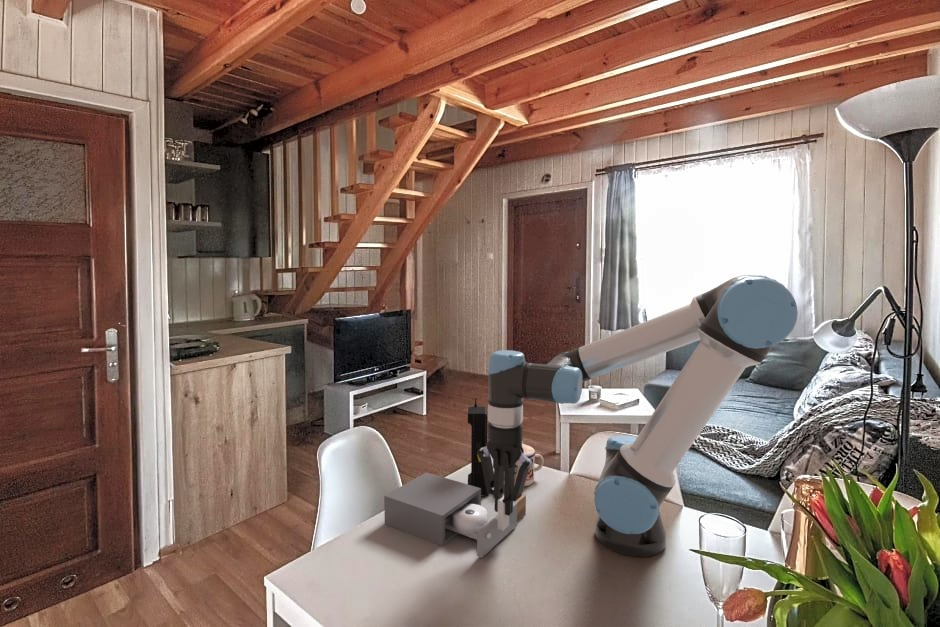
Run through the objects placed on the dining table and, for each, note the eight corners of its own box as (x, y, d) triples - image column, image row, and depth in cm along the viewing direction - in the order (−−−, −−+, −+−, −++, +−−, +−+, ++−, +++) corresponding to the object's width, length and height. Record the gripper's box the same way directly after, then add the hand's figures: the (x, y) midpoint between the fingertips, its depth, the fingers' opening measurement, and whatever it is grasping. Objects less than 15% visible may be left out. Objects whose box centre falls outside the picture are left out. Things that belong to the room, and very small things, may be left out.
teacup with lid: (508, 489, 138) (509, 448, 137) (498, 475, 146) (499, 437, 145) (549, 484, 141) (550, 444, 140) (536, 471, 150) (537, 433, 148)
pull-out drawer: (518, 526, 117) (519, 503, 117) (483, 558, 104) (484, 533, 104) (455, 505, 127) (455, 485, 127) (416, 532, 114) (416, 510, 114)
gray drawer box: (480, 515, 123) (481, 488, 123) (442, 546, 110) (442, 515, 109) (426, 497, 133) (426, 472, 132) (384, 524, 119) (384, 495, 118)
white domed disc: (493, 522, 117) (493, 509, 116) (475, 537, 110) (475, 524, 110) (464, 512, 121) (464, 500, 121) (445, 527, 114) (445, 514, 114)
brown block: (525, 514, 124) (526, 495, 123) (516, 523, 120) (516, 503, 119) (507, 509, 127) (508, 490, 126) (498, 517, 122) (498, 497, 122)
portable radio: (490, 498, 133) (490, 405, 130) (467, 497, 133) (467, 405, 130) (489, 484, 140) (490, 397, 138) (468, 484, 141) (468, 397, 138)
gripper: (540, 423, 108) (537, 528, 110) (488, 413, 115) (486, 511, 117) (524, 433, 101) (521, 544, 104) (470, 421, 108) (469, 525, 111)
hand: (503, 526), depth 110 cm, fingers closed
